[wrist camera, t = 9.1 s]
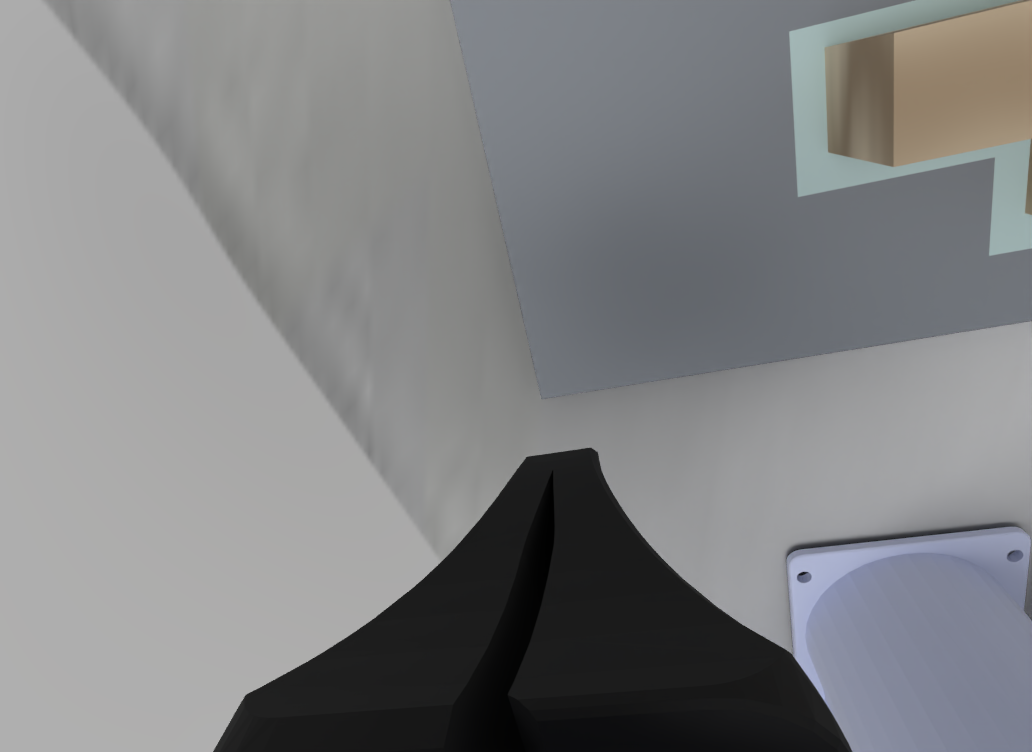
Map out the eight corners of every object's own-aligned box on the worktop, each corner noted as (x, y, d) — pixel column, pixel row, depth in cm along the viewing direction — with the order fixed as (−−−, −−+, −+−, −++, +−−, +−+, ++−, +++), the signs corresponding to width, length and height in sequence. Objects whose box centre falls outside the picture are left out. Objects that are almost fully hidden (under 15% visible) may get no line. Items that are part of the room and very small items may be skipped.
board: (1176, 283, 19) (1206, 292, 18) (543, 386, 22) (541, 399, 21) (1300, -416, 13) (1354, -454, 12) (425, -134, 16) (416, -148, 15)
